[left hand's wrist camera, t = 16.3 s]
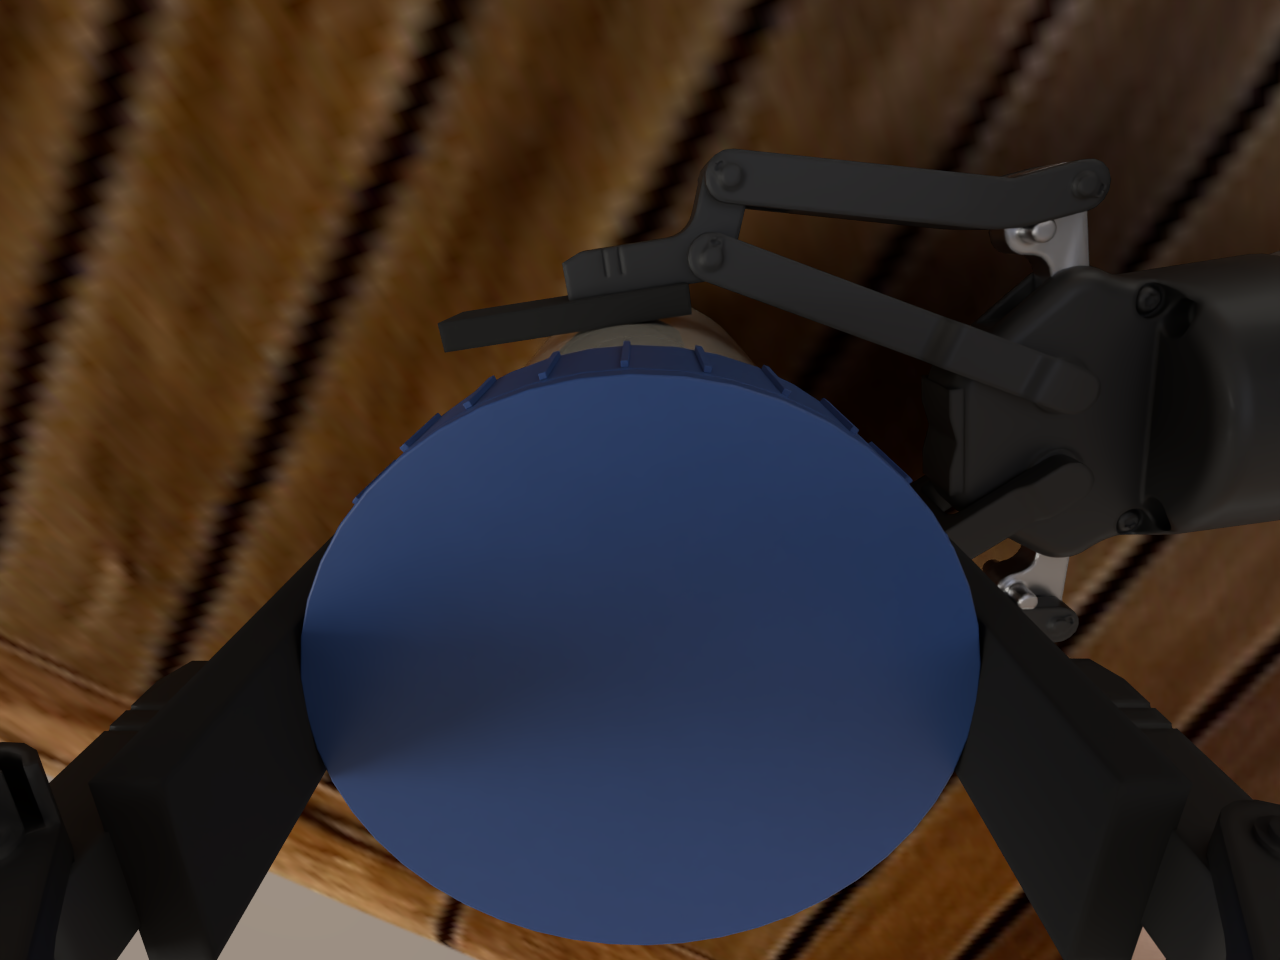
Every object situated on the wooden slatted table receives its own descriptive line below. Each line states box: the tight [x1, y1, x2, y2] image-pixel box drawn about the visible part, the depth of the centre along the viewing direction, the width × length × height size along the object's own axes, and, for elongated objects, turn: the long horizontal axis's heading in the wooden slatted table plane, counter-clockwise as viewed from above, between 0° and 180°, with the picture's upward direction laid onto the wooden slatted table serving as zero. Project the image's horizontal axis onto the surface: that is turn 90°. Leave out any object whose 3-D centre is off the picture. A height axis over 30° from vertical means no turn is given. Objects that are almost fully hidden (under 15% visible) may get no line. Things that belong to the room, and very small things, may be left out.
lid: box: [301, 341, 981, 945], centre depth 11 cm, size 10×10×2 cm
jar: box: [525, 308, 757, 367], centre depth 19 cm, size 9×9×16 cm
